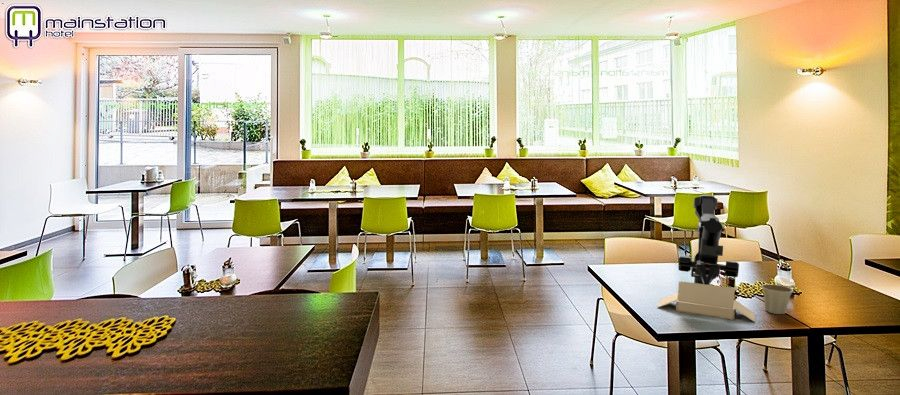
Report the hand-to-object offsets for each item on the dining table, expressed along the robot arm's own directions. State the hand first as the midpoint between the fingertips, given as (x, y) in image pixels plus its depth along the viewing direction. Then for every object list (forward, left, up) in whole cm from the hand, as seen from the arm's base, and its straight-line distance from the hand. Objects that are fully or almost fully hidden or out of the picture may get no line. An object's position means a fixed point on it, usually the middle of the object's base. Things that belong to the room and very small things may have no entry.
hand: (706, 287), depth 178 cm
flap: (-1, 0, -6) cm, 6 cm away
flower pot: (-18, +22, -10) cm, 30 cm away
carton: (-9, 0, -10) cm, 13 cm away
